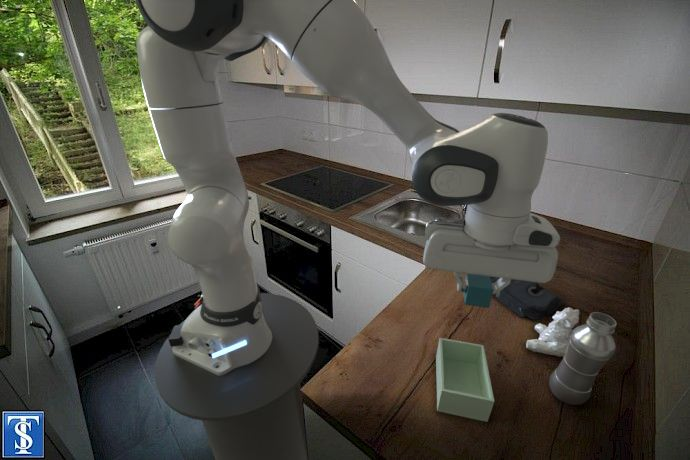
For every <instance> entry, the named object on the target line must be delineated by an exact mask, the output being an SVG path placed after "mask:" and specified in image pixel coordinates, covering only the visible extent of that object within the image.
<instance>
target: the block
mask: <svg viewBox="0 0 690 460" xmlns="http://www.w3.org/2000/svg"><path fill="white" fill-rule="evenodd" d="M464 280H467V289H466V293H465V292H462V295H463V301H464V305H465V306H466V305H467V306H472V307H477V308H484V309H485V308H486V309H489V308H490V305H491V301H492V298H493V296H492V294H493V291H494V290H493V286H492V283H491V279H490V277H489V276H482V275H474V274H467V273H465V278H464Z"/></svg>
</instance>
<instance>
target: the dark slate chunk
mask: <svg viewBox="0 0 690 460" xmlns="http://www.w3.org/2000/svg"><path fill="white" fill-rule="evenodd" d="M474 275H475V274H474ZM482 276H483V275H482ZM489 277H490V279H491V283H495V282H497V281H498V280H499V279H500V278H498V277H491V276H489ZM539 284H540V283H538V282H530V281H522V280H514V279H511V282H510V284H509V285H507V286H506V287H505V288H504V289H502V290H500V294H499V297H494V296H492V298H494V299H496V300H497V301H499V302H500V303H502V304H503V306H505V307H506V308H508V309H509V310H510V311H511V312H513V313H515V314H516V315H517V316H519V317H522V318H526V317H527V318H528V319H530V320H531V321H535V320H539V319H541V318H542V317H545V316H548V315H551V314H553V313H556V312H557V311H558V309H559V308H560V307H561V306H563V305H564V304H565V302H564V301H563V299H562V298H561V297H560V296H559V295H557V294H555V293H554V292H552V291H550V290H548V289H547V288H545V287H544V286H541V285H539Z"/></svg>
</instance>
